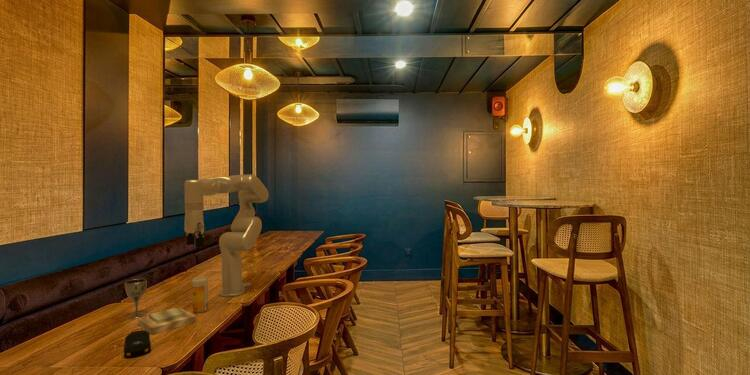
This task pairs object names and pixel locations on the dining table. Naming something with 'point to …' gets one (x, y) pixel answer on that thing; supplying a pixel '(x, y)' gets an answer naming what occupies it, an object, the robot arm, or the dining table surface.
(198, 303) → the glass of juice
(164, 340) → the dining table surface
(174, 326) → the riser
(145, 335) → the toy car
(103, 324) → the dining table surface
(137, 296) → the wine glass
